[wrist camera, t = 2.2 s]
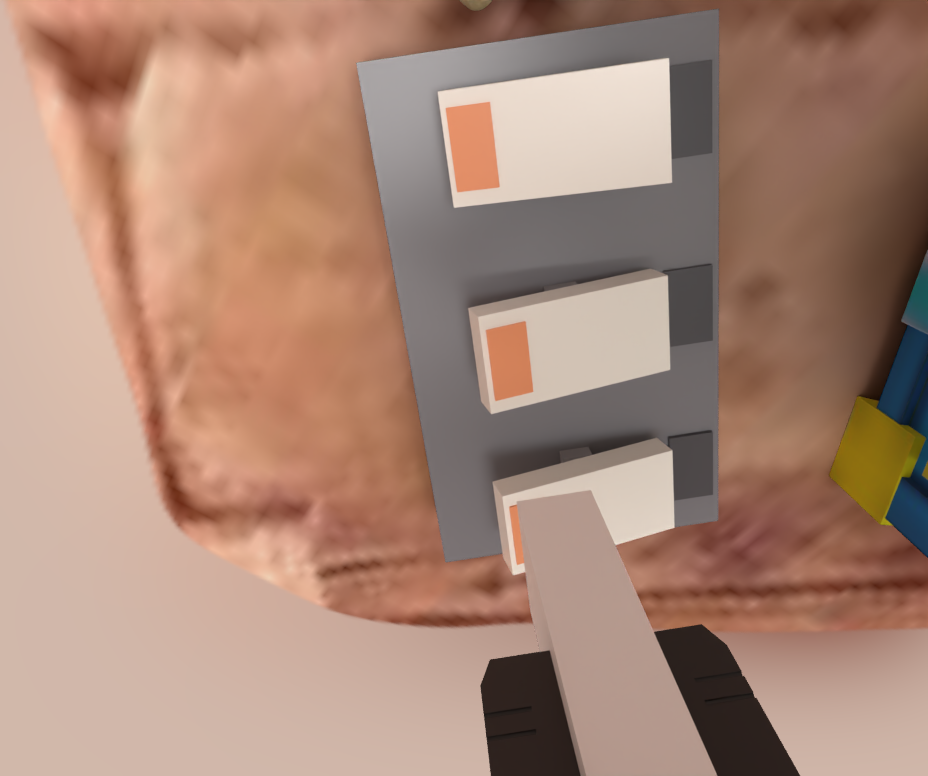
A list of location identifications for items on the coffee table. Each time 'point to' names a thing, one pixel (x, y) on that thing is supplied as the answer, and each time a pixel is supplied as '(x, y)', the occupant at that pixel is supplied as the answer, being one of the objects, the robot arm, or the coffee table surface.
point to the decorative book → (894, 434)
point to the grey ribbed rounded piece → (476, 4)
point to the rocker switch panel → (551, 270)
